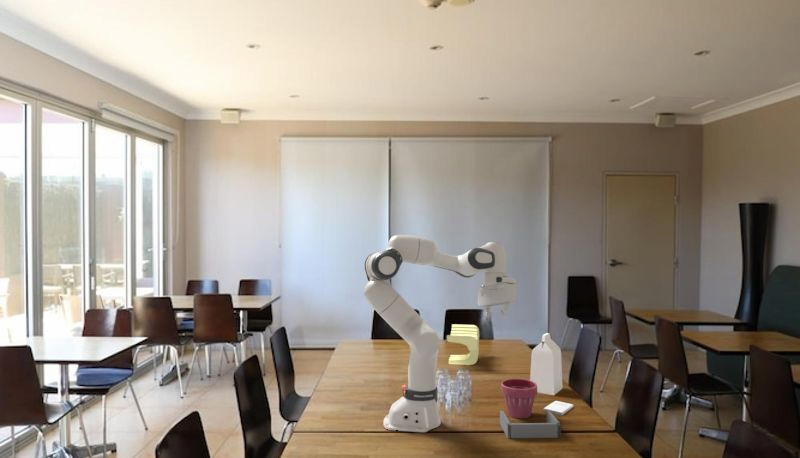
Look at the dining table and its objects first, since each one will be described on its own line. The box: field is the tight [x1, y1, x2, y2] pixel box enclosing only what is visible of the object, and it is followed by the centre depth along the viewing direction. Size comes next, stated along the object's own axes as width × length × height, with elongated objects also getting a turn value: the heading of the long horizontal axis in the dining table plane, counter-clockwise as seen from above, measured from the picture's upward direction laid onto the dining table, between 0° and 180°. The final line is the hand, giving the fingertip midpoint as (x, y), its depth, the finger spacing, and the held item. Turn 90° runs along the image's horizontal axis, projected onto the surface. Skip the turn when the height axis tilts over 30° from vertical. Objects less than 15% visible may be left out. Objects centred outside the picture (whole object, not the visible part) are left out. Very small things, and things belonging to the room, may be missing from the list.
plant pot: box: [500, 378, 538, 419], centre depth 214 cm, size 14×14×13 cm
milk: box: [529, 332, 563, 396], centre depth 245 cm, size 12×12×26 cm
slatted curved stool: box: [446, 323, 480, 366], centre depth 295 cm, size 30×16×18 cm, turn 169°
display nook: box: [499, 410, 562, 439], centre depth 198 cm, size 19×14×5 cm
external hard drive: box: [542, 400, 575, 416], centre depth 220 cm, size 2×8×12 cm
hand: (496, 316), depth 209 cm, fingers open, 8 cm apart
